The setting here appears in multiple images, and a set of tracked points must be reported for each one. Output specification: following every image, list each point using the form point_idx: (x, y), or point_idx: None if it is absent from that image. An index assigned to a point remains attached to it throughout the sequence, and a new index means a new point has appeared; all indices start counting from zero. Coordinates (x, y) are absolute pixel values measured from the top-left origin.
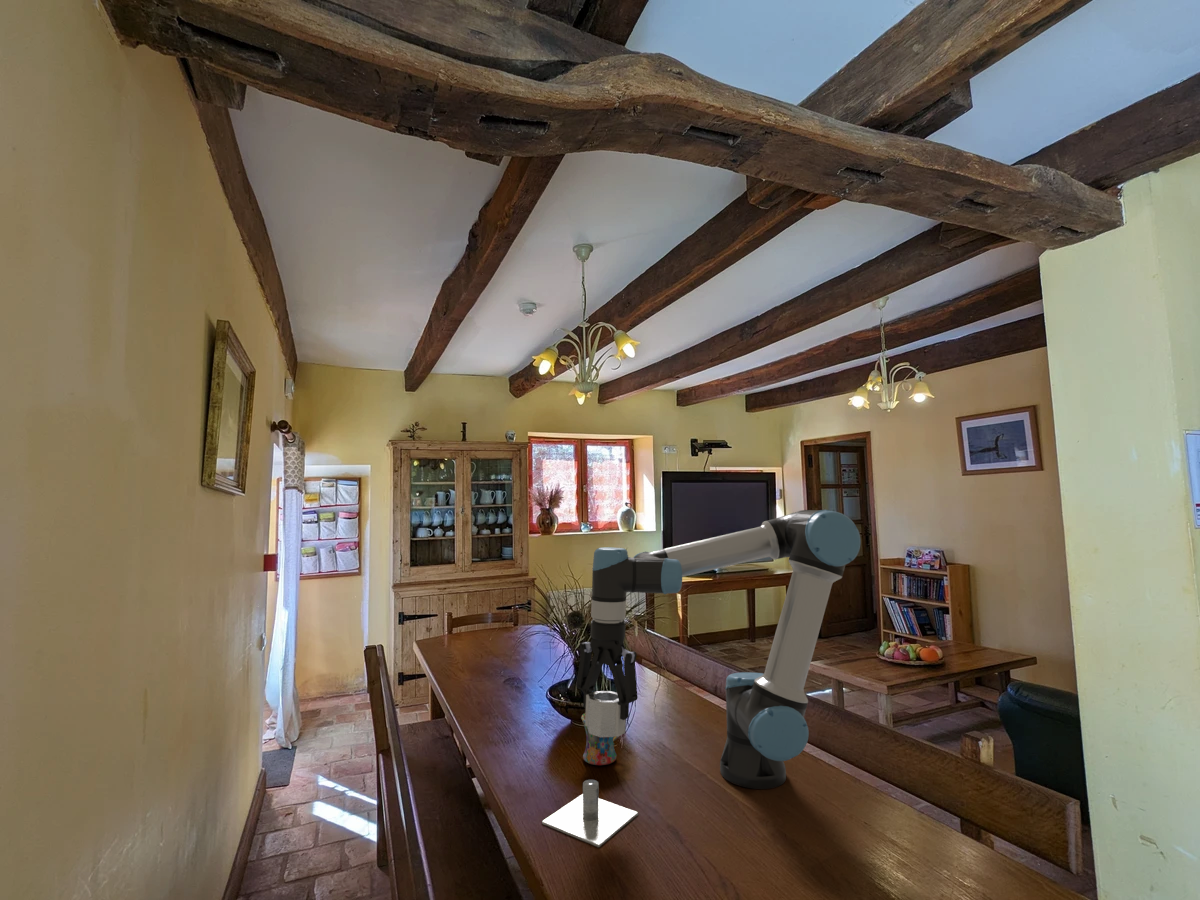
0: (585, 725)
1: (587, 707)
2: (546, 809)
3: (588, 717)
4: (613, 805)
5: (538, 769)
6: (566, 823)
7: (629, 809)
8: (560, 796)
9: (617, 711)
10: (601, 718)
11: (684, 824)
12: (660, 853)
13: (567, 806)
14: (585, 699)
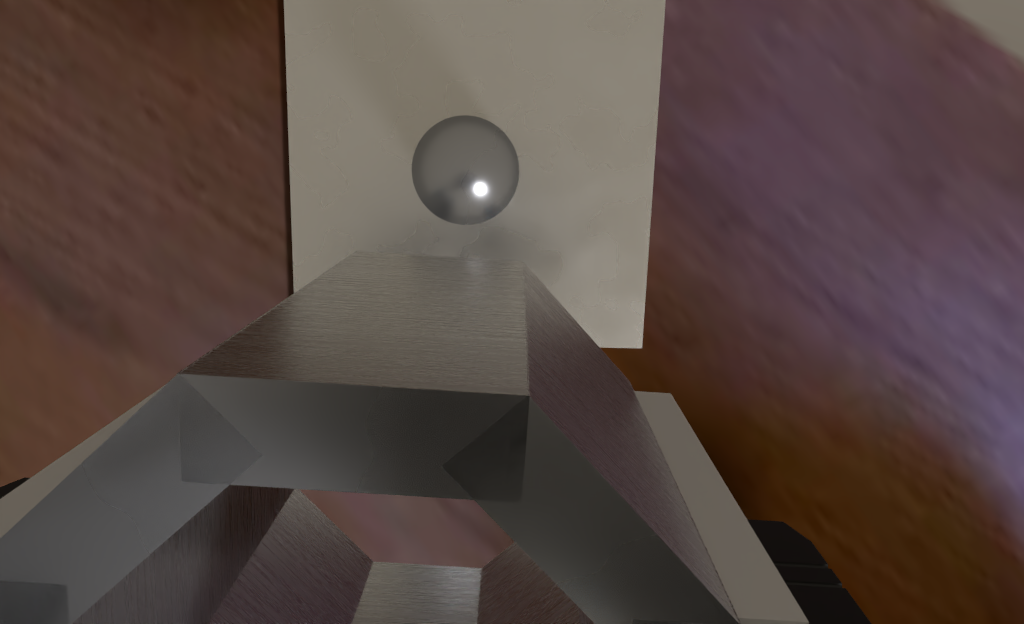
0: (666, 395)
1: (695, 492)
2: (729, 117)
3: (605, 381)
4: None
5: (1016, 438)
6: (542, 38)
7: None
8: (741, 268)
9: (31, 490)
10: (286, 298)
11: (67, 386)
12: (17, 102)
13: (637, 184)
14: (811, 600)
